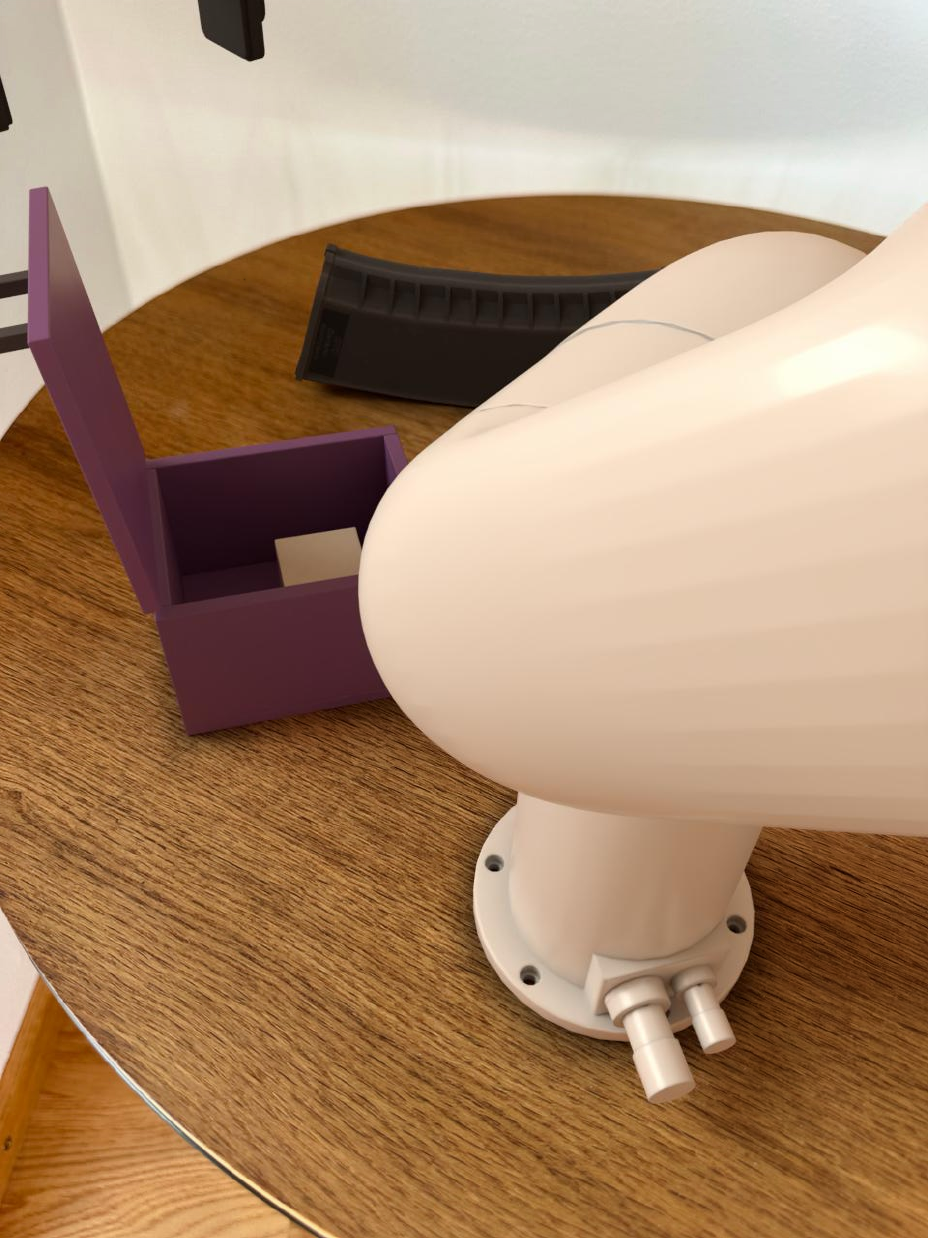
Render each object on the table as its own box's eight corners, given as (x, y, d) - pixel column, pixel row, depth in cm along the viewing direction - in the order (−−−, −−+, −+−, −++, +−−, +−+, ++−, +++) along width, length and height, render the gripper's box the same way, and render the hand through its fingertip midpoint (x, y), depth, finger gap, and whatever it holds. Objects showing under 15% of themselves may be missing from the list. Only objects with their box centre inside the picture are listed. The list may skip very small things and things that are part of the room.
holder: (398, 541, 65) (394, 424, 59) (444, 687, 58) (447, 570, 51) (169, 578, 63) (139, 460, 56) (186, 736, 55) (154, 620, 49)
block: (359, 583, 62) (355, 526, 58) (374, 639, 59) (371, 582, 55) (282, 596, 61) (274, 539, 57) (294, 653, 58) (286, 597, 55)
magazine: (244, 276, 68) (729, 168, 61) (255, 250, 70) (725, 143, 63) (338, 481, 80) (753, 412, 72) (345, 453, 82) (748, 384, 75)
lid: (47, 184, 45) (-76, 206, 44) (50, 337, 37) (-99, 366, 37) (145, 451, 56) (47, 472, 55) (161, 611, 48) (48, 638, 48)
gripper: (196, -663, 31) (262, -2, 43) (-514, -722, 23) (-178, 109, 35) (358, -667, 27) (378, 57, 40) (-420, -739, 19) (-84, 195, 32)
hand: (116, 81), depth 37 cm, fingers open, 9 cm apart
